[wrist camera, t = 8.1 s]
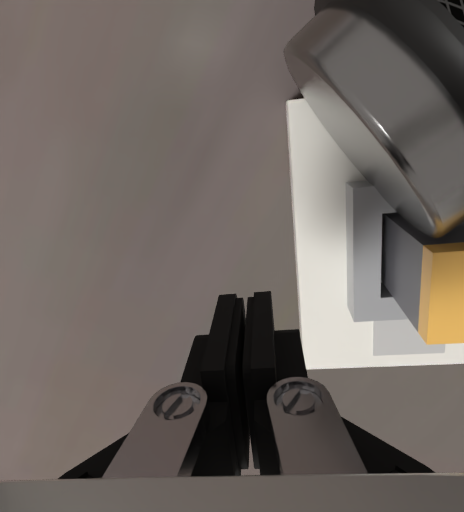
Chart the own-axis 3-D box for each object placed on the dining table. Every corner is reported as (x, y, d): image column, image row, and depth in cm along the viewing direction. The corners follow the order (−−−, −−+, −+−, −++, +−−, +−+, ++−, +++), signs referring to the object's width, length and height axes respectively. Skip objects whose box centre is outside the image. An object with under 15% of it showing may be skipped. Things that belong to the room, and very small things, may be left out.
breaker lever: (449, 205, 17) (535, 245, 11) (444, 274, 18) (520, 340, 12) (381, 211, 17) (433, 253, 12) (379, 278, 18) (426, 344, 13)
